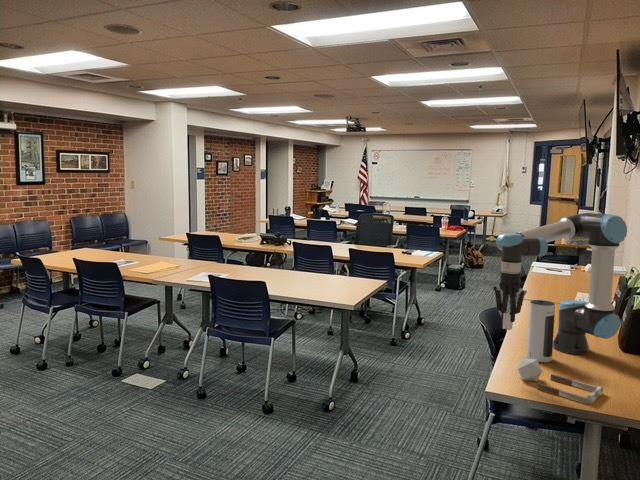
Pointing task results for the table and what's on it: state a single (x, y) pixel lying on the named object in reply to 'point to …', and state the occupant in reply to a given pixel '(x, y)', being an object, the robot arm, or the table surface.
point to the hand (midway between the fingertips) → (507, 328)
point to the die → (529, 369)
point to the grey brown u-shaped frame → (589, 400)
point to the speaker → (541, 330)
